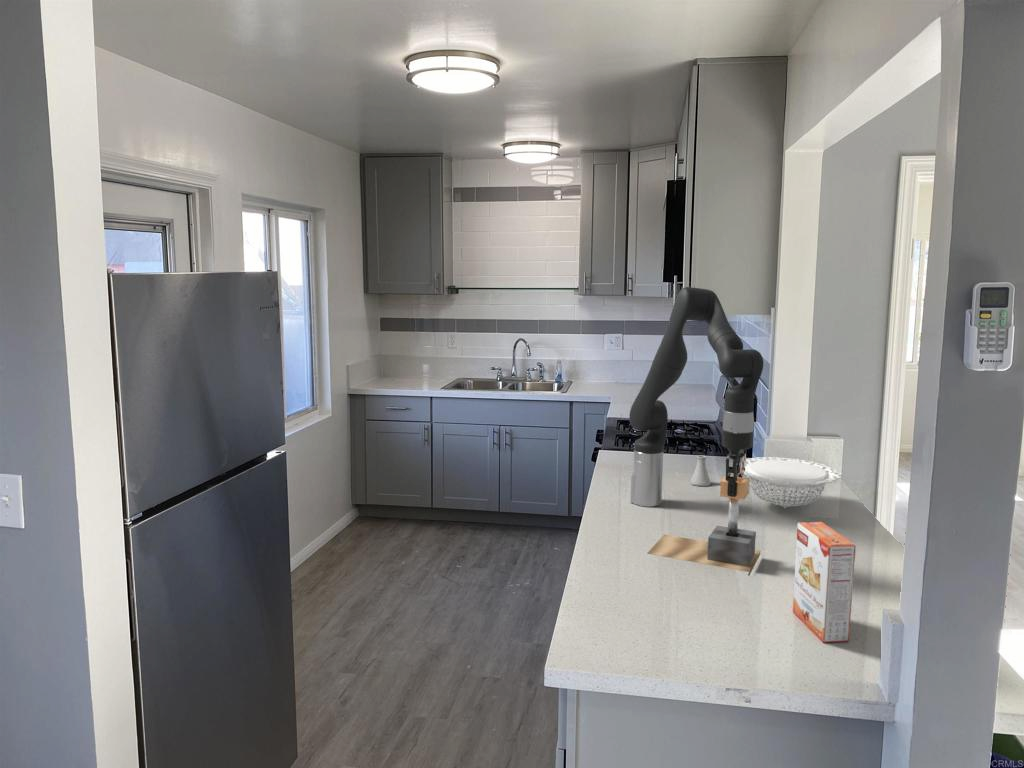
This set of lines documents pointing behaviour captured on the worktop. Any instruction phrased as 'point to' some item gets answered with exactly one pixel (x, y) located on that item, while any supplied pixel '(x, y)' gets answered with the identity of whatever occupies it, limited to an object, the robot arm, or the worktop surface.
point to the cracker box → (824, 581)
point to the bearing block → (712, 549)
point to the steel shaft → (733, 517)
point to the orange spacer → (741, 488)
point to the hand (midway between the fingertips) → (734, 492)
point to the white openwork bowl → (788, 479)
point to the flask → (700, 473)
